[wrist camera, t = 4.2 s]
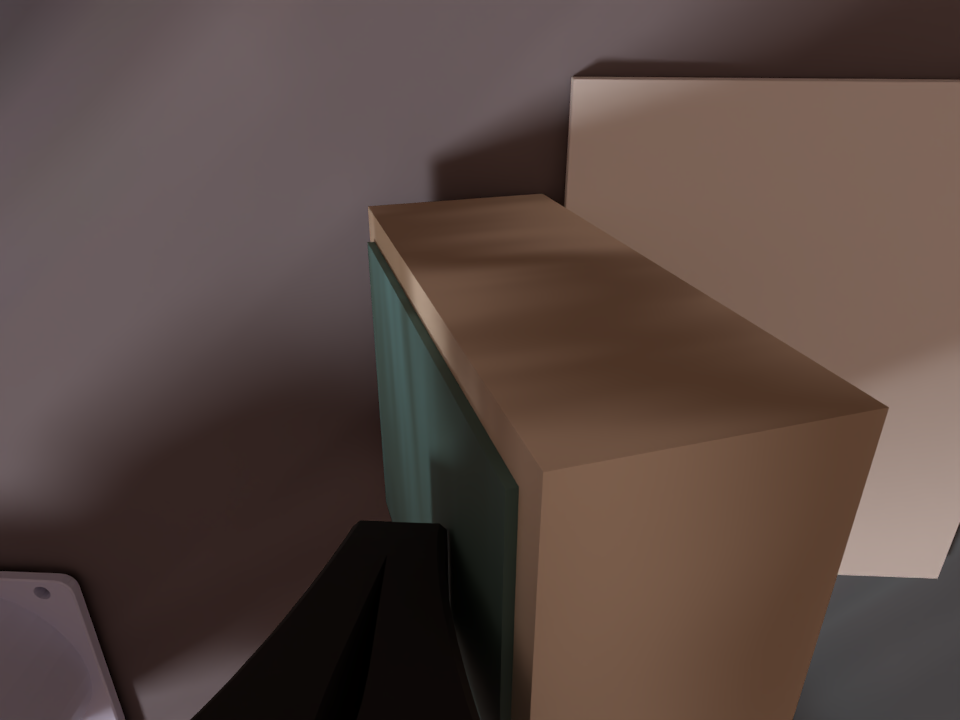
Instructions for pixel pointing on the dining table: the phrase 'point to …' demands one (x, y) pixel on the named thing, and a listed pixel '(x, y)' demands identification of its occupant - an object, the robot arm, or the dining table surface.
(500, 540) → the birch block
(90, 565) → the dining table surface
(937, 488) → the beige mat
